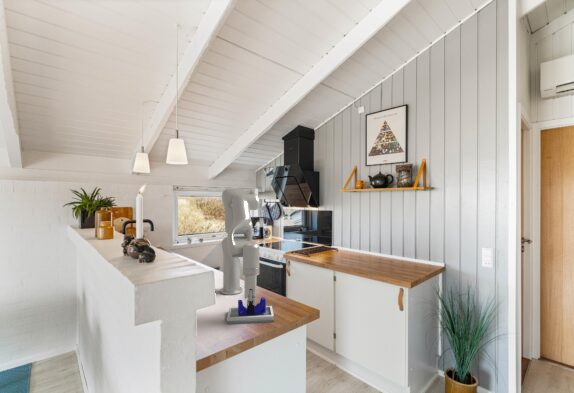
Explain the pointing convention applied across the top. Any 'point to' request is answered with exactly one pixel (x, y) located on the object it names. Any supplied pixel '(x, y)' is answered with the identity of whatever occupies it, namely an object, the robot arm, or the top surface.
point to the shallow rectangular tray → (250, 316)
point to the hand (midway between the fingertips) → (250, 310)
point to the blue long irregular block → (257, 308)
